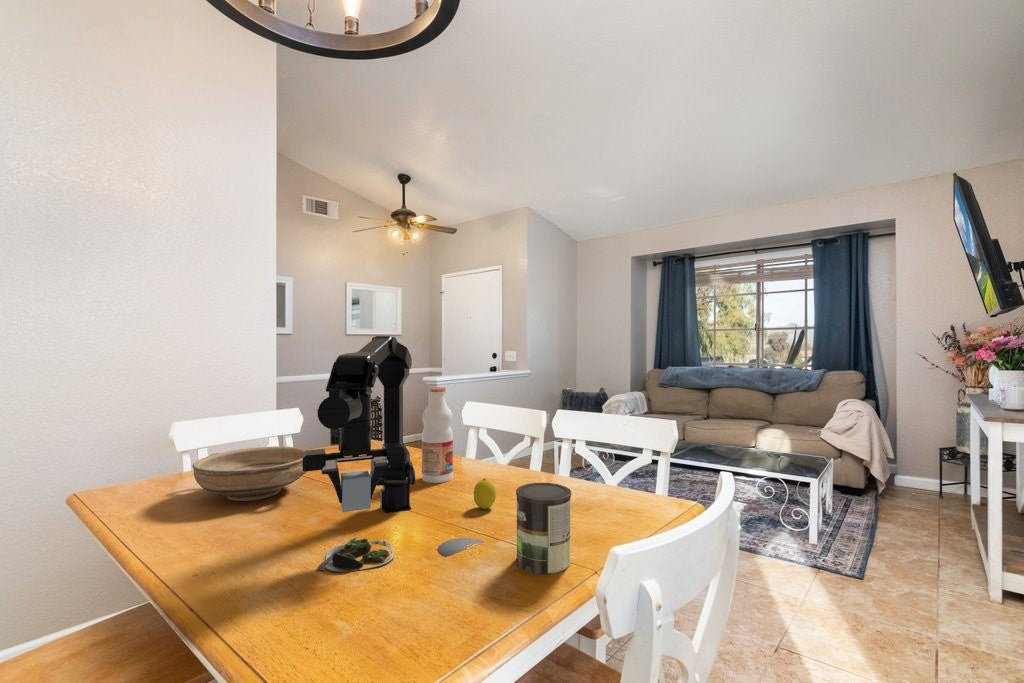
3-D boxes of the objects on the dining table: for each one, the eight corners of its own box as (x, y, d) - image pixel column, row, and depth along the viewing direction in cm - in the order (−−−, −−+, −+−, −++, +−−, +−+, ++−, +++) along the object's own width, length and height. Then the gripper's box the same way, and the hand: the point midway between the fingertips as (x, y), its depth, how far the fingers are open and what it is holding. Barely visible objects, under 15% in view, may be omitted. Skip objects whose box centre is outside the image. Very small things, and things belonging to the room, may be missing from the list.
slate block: (367, 500, 95) (367, 470, 95) (370, 508, 90) (370, 476, 90) (340, 503, 93) (340, 473, 93) (342, 512, 88) (342, 480, 88)
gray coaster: (478, 537, 102) (478, 534, 102) (495, 556, 92) (495, 553, 92) (432, 545, 98) (432, 542, 98) (445, 566, 88) (445, 563, 88)
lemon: (492, 515, 115) (492, 482, 115) (470, 513, 116) (470, 480, 116) (498, 507, 120) (498, 475, 120) (477, 505, 121) (477, 474, 121)
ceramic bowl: (158, 499, 127) (158, 461, 127) (257, 472, 152) (257, 441, 152) (249, 521, 111) (249, 478, 111) (342, 488, 136) (342, 453, 136)
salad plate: (323, 547, 98) (323, 530, 98) (391, 540, 101) (391, 523, 101) (315, 582, 83) (315, 562, 83) (395, 571, 87) (395, 552, 87)
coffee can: (518, 580, 83) (518, 500, 83) (513, 554, 93) (513, 482, 93) (576, 578, 84) (576, 498, 84) (565, 552, 94) (565, 481, 94)
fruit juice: (420, 476, 148) (420, 386, 148) (450, 474, 151) (450, 385, 151) (422, 485, 139) (422, 389, 139) (454, 482, 142) (454, 388, 142)
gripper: (397, 411, 103) (397, 483, 103) (302, 416, 95) (302, 494, 95) (407, 419, 93) (407, 499, 93) (302, 425, 85) (302, 513, 85)
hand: (355, 500), depth 92 cm, fingers closed on slate block, 5 cm apart
